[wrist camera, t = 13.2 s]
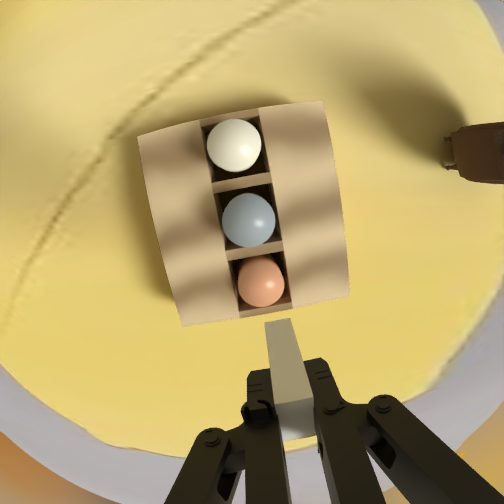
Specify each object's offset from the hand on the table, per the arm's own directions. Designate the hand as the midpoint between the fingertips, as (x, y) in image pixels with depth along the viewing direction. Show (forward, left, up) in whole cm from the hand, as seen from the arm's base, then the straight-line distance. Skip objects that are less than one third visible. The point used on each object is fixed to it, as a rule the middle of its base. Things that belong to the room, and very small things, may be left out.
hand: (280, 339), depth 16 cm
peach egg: (+1, -1, -15) cm, 15 cm away
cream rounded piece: (-12, -1, -13) cm, 18 cm away
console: (-6, -1, -17) cm, 18 cm away
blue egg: (-6, -1, -13) cm, 15 cm away
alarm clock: (-10, +31, -17) cm, 37 cm away
